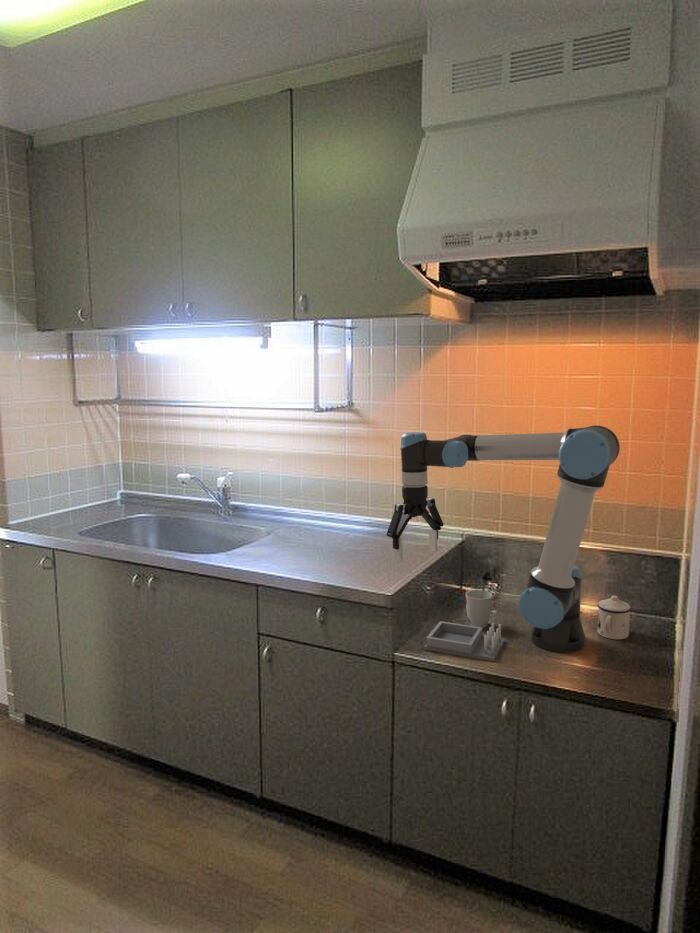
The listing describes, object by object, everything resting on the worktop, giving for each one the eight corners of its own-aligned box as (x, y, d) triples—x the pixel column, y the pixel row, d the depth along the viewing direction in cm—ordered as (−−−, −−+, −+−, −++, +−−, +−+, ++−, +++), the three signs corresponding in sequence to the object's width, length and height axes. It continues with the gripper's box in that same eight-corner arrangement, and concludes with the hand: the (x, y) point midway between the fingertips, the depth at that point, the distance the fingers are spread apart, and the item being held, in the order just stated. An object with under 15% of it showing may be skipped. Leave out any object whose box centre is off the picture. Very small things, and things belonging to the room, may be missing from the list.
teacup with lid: (601, 625, 201) (602, 589, 199) (632, 632, 196) (634, 594, 194) (590, 639, 192) (591, 601, 190) (622, 646, 186) (624, 607, 184)
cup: (473, 618, 209) (473, 588, 207) (496, 624, 204) (497, 593, 202) (460, 626, 203) (460, 595, 201) (484, 632, 198) (484, 601, 196)
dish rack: (505, 641, 191) (505, 622, 190) (494, 661, 179) (494, 641, 178) (438, 631, 199) (438, 612, 198) (424, 649, 187) (424, 629, 186)
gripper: (437, 478, 203) (438, 544, 206) (373, 489, 189) (375, 560, 192) (454, 481, 197) (455, 549, 200) (389, 492, 183) (391, 566, 186)
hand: (416, 555), depth 196 cm, fingers open, 13 cm apart
